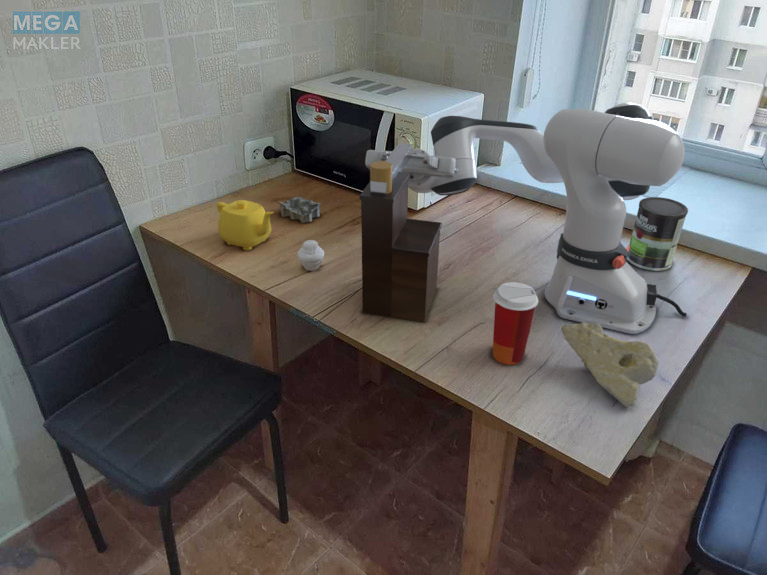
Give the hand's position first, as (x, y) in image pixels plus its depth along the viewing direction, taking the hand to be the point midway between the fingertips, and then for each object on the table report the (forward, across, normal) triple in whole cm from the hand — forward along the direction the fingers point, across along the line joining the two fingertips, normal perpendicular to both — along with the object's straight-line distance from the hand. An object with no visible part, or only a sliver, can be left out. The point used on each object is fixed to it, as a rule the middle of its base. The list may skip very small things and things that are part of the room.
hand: (404, 157), depth 130 cm
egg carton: (-29, +32, -13) cm, 45 cm away
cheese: (+15, -43, -38) cm, 59 cm away
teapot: (-13, +39, -22) cm, 47 cm away
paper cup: (+12, -27, -37) cm, 47 cm away
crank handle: (+9, 0, -5) cm, 11 cm away
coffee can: (-27, -56, -14) cm, 64 cm away
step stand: (+1, -3, -30) cm, 30 cm away
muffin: (-6, +20, -26) cm, 33 cm away
